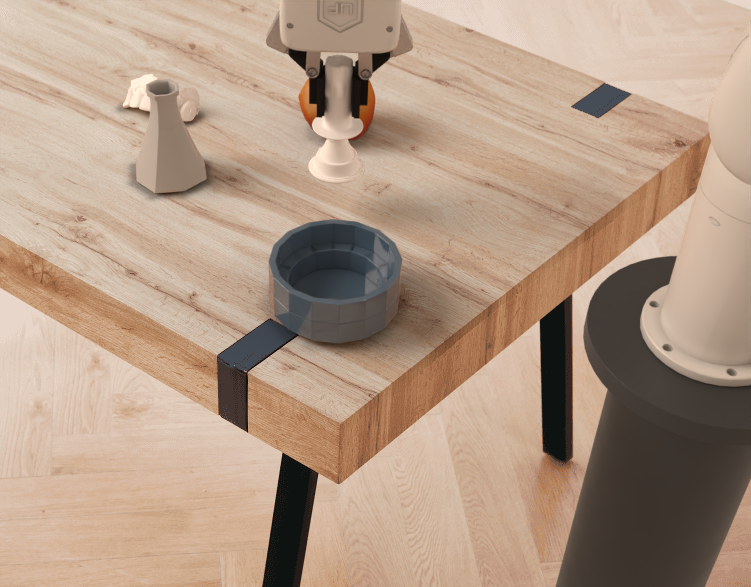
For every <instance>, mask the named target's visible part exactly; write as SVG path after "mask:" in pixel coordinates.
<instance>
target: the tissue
mask: <svg viewBox="0 0 751 587" xmlns="http://www.w3.org/2000/svg"><path fill="white" fill-rule="evenodd" d="M154 80H159V79H158V77H157V76H154V73H150V74H143V75H142V76H141V77H137V78H134V79H131V80H130V86H129V88H128V90H127V95H126V97H125V100H124V102H123V103H122V108H123V109H127V108H132V109H133V108H135V109H136V108H139V110H141V111H145V112H149V113H150V105H151V104H150V97H148V96H147V94H146V84H148V83H150V82H152V81H154ZM200 97H201V96H200V94H199V92H198V90H197V88H196V87H194V86H192V87H184V88H181V89H179V95H178V96H177V104H178V107H179V111H180V114H181V117H182V120H183V122H191V121H193V120H194V118H196V116H199V111H200V99H201V98H200Z"/></svg>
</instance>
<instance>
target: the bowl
mask: <svg viewBox="0 0 751 587" xmlns="http://www.w3.org/2000/svg"><path fill="white" fill-rule="evenodd" d="M271 248H272V249H271V252H270V255H269V258H268V286H269V287H268V288H269V289H268V290H269V301H270V305H271V308H272V309H271V310H272V312H273V315H274V317H275V319H277V320H278V321H279V322H280V323H281V324H282V325H283V326H284V327H285V328H286V329H287V330H288V331H290V332H292V333H294V334H296V335H298V336H301V337H303V338H305V339H308V340H310V341H313V342H320V343H321V342H323V343H329V344H343V343H350V342H355V341H356V342H357V341H362V340H366V339H367V338H369V337H371V336H373V335H375V334H377V333H379V332H381V331H383V330H385V329H386V327H387V326H388V325H389V324H390V323H391V321H393V319H394V318H395V317H396V315H397V314H398V311H399V310H398V309H399V305H400V297H401V285H402V271H403V257H402V255H401V252H400V250H399V249H398V246H397V244H396V243H395V241H394V240H392V239H391V238H390V237H389V236H388V235H387V234H385V233H384V232H382V231H381V230H379V228H378V229H377V228H375V227H372V226H370V225H367V224H365V223H362V222H359V221H356V220H346V219H336V218H330V219H324V220H323V219H322V220H315V221H309V222H306V223H303V224H302V225H299V226H297V227H295V228H291V229H290V230H287V231H286V232H285V233H284V234H283V235H282V236H281V237H280V238H279V239H278V240H277V241H276V242H275V243H274V244H273V245H272V247H271Z"/></svg>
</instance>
